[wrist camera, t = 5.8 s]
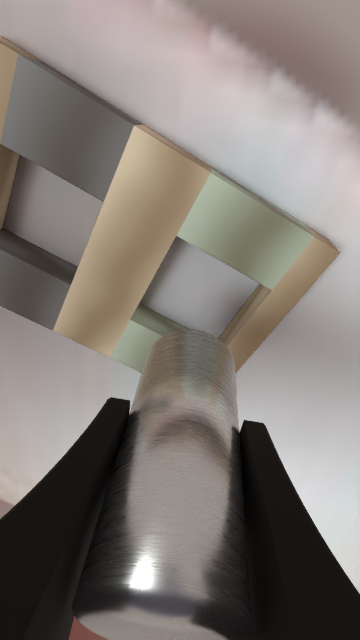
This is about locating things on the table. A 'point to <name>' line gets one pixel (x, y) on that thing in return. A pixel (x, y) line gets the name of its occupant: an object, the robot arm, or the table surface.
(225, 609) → the metal cylinder
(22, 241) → the tool stand
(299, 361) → the table surface
